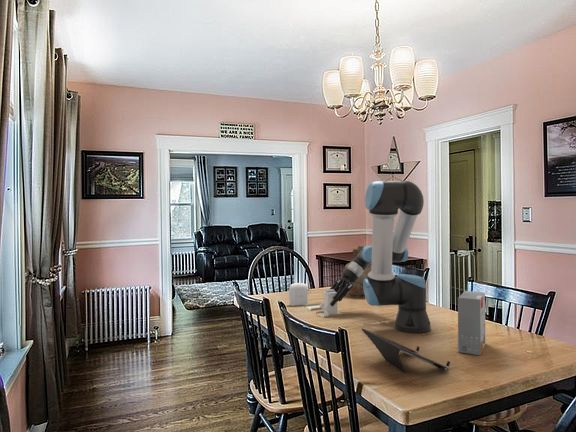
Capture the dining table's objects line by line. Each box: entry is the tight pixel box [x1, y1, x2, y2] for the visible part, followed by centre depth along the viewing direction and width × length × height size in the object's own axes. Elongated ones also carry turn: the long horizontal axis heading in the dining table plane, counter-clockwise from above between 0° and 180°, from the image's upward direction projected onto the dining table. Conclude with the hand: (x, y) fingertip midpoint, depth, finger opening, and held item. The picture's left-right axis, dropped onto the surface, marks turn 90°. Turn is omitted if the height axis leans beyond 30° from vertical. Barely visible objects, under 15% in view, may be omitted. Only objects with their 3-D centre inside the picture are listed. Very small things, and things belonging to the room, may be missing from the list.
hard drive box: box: [457, 290, 486, 356], centre depth 151 cm, size 16×8×20 cm, turn 148°
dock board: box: [303, 302, 346, 319], centre depth 207 cm, size 26×12×2 cm, turn 20°
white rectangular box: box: [322, 288, 338, 315], centre depth 199 cm, size 5×5×12 cm
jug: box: [340, 245, 372, 298], centre depth 248 cm, size 22×22×30 cm
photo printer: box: [288, 282, 309, 307], centre depth 226 cm, size 10×4×12 cm, turn 98°
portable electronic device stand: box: [361, 328, 451, 373], centre depth 136 cm, size 23×23×9 cm
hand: (323, 309), depth 198 cm, fingers closed on white rectangular box, 5 cm apart
